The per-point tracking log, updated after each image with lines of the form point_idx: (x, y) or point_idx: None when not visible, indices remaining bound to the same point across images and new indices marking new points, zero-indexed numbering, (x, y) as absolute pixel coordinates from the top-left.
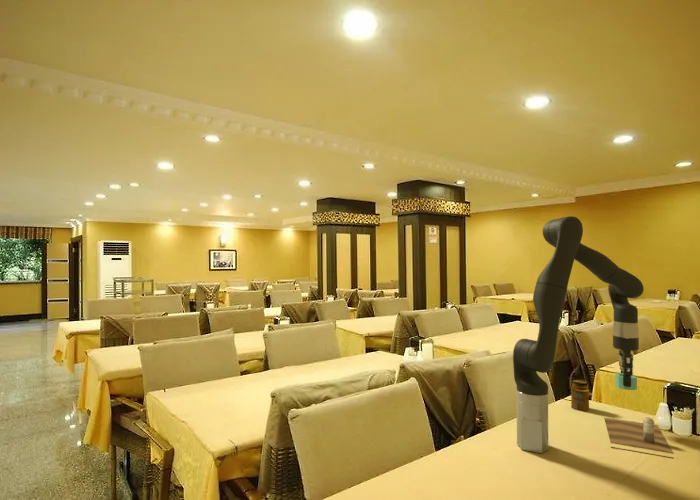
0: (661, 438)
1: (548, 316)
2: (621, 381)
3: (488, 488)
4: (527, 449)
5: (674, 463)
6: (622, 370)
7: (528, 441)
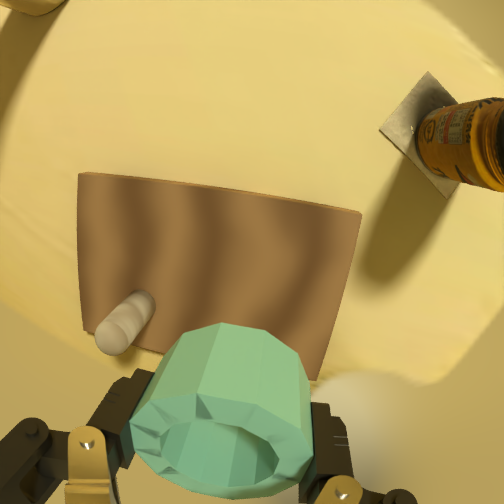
0: None
1: None
2: (153, 383)
3: None
4: None
5: (66, 312)
6: (316, 483)
7: None
